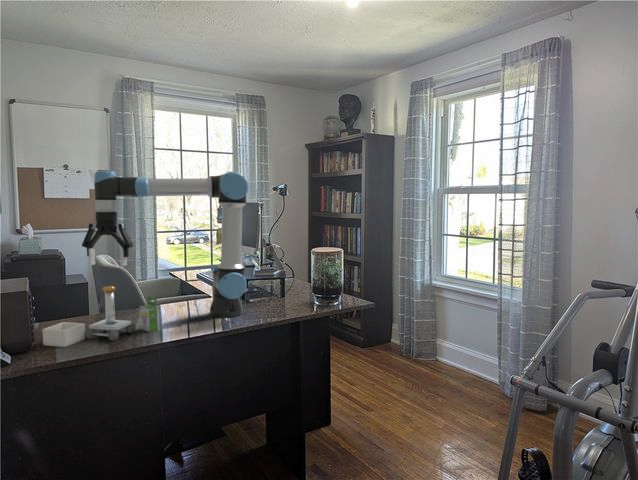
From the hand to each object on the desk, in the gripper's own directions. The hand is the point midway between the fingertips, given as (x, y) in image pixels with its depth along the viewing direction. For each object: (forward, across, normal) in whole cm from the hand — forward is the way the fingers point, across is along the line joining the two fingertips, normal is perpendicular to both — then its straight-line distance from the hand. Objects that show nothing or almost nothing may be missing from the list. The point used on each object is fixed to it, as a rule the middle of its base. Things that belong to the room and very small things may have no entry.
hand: (108, 265), depth 173 cm
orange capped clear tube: (+27, -3, +4) cm, 27 cm away
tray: (+27, +10, +14) cm, 32 cm away
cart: (+27, -3, +4) cm, 27 cm away
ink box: (+27, -13, -5) cm, 31 cm away
